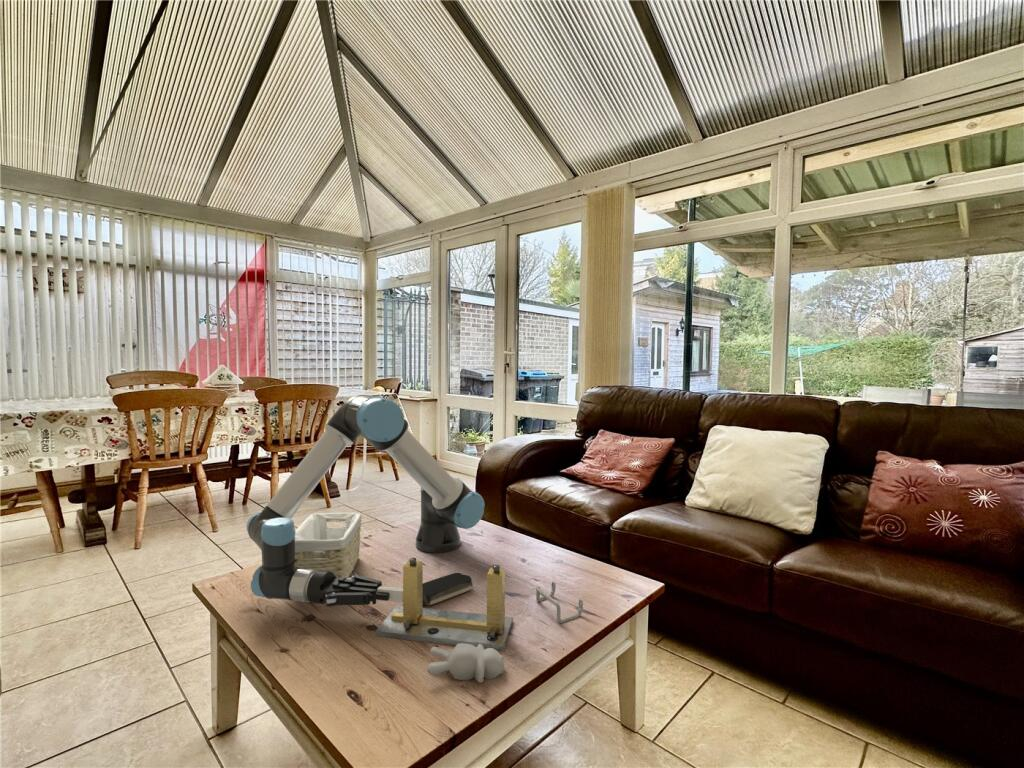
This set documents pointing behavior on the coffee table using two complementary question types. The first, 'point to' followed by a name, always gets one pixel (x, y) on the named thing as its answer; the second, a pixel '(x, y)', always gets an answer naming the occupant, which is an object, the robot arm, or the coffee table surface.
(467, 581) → the black sponge
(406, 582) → the sliding leg
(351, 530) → the storage basket
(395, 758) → the coffee table surface
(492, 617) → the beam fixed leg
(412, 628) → the steel plate
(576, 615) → the bracket
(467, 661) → the bunny figurine
